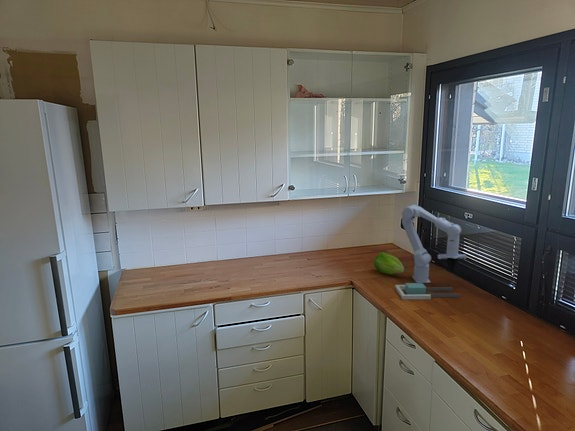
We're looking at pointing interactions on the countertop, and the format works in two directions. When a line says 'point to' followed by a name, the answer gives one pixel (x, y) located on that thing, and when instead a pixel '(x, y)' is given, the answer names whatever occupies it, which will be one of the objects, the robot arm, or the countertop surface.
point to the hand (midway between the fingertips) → (450, 271)
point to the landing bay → (415, 296)
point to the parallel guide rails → (442, 293)
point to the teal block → (415, 288)
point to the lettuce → (388, 264)
